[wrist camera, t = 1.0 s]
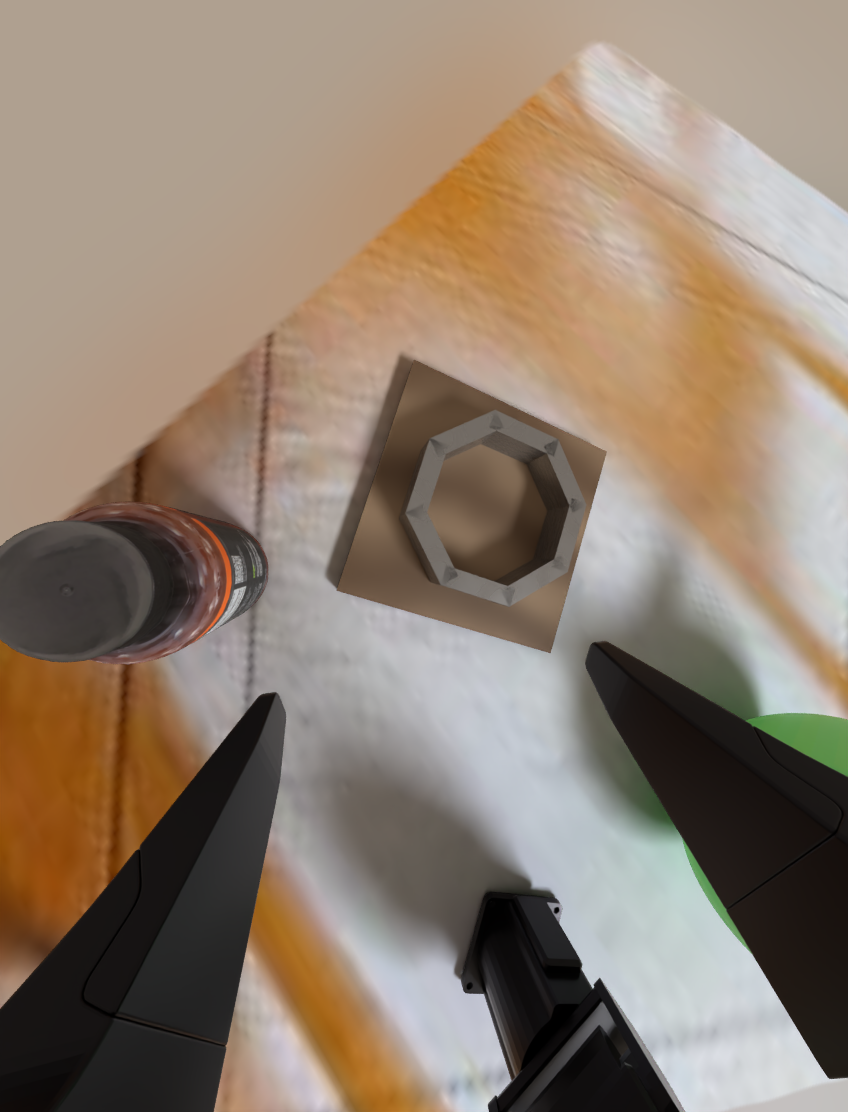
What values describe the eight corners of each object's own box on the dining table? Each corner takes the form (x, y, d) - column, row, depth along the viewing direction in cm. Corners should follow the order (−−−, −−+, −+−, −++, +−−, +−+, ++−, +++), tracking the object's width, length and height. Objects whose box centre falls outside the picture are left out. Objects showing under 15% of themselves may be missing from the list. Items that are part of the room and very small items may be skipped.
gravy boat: (657, 909, 28) (993, 1284, 13) (609, 723, 27) (916, 915, 12) (801, 810, 32) (1174, 1017, 17) (764, 646, 31) (1129, 723, 16)
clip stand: (542, 649, 25) (550, 653, 24) (336, 588, 22) (336, 590, 21) (597, 455, 26) (606, 451, 25) (411, 368, 23) (413, 359, 22)
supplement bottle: (137, 562, 19) (-148, 569, 8) (228, 502, 20) (88, 437, 9) (208, 640, 20) (39, 744, 9) (291, 579, 21) (233, 604, 10)
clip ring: (532, 614, 24) (554, 621, 21) (382, 566, 21) (387, 568, 19) (574, 468, 25) (599, 458, 22) (435, 405, 22) (446, 386, 20)
